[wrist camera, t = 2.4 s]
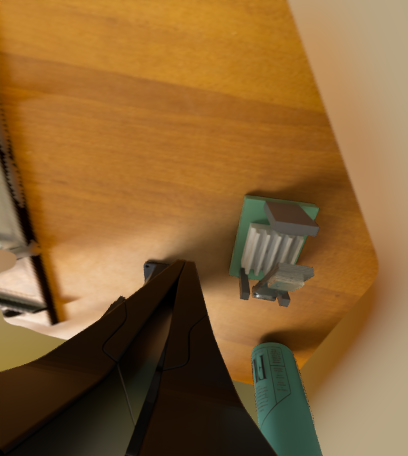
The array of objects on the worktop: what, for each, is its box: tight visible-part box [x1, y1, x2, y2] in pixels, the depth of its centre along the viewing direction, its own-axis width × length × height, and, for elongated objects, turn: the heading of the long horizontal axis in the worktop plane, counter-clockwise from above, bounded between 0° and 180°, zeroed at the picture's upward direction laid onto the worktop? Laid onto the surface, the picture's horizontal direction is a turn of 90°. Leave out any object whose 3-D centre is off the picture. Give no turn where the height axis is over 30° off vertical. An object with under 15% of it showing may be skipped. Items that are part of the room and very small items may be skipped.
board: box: [229, 195, 320, 307], centre depth 18 cm, size 10×7×6 cm
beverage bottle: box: [251, 342, 323, 456], centre depth 21 cm, size 6×7×20 cm
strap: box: [252, 262, 314, 301], centre depth 16 cm, size 8×2×1 cm
